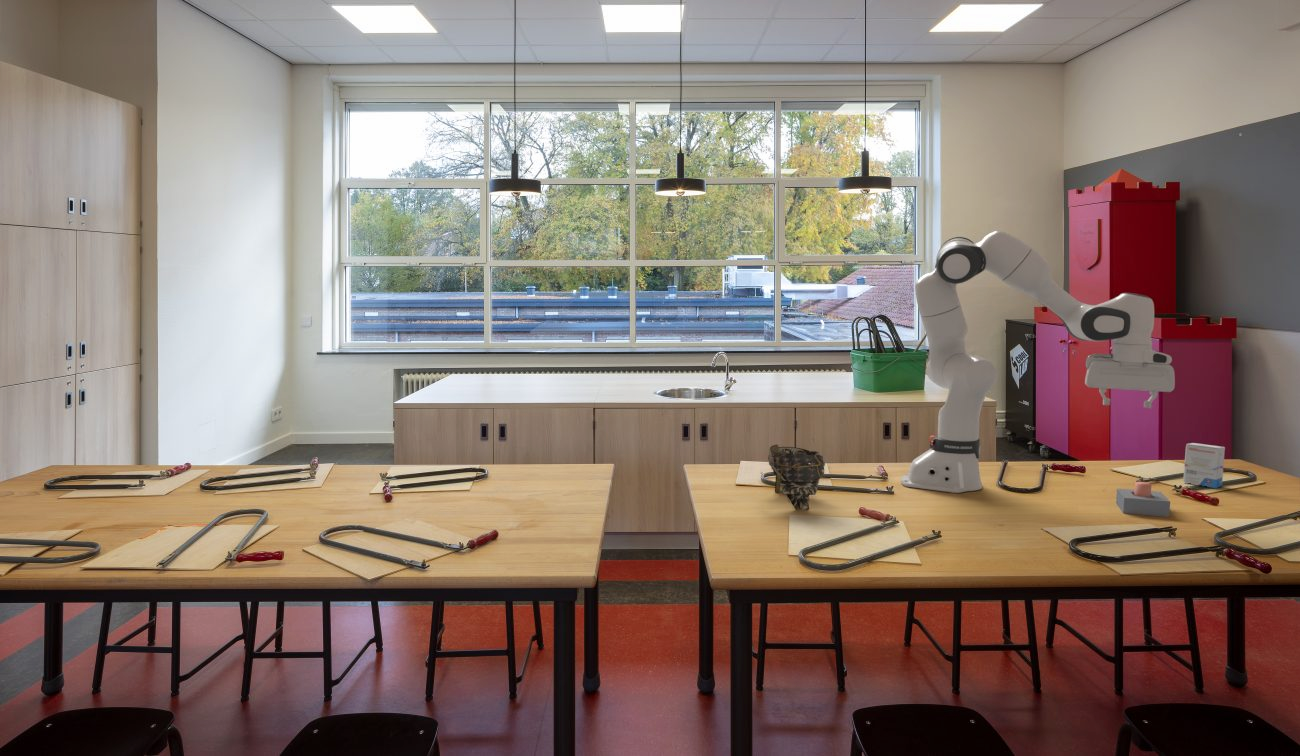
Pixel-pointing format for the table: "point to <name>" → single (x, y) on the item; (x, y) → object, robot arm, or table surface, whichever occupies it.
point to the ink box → (1204, 465)
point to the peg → (1142, 489)
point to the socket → (1143, 503)
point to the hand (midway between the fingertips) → (1126, 406)
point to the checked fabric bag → (796, 473)
